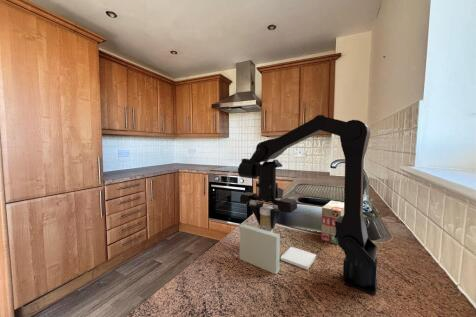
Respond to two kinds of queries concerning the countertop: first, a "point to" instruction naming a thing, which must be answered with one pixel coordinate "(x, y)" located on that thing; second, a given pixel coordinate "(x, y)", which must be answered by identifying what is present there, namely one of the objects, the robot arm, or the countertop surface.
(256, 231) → the pale green board
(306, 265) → the tile pad
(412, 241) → the countertop surface
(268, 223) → the seasoning jar
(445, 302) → the countertop surface
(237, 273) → the countertop surface
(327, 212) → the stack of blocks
